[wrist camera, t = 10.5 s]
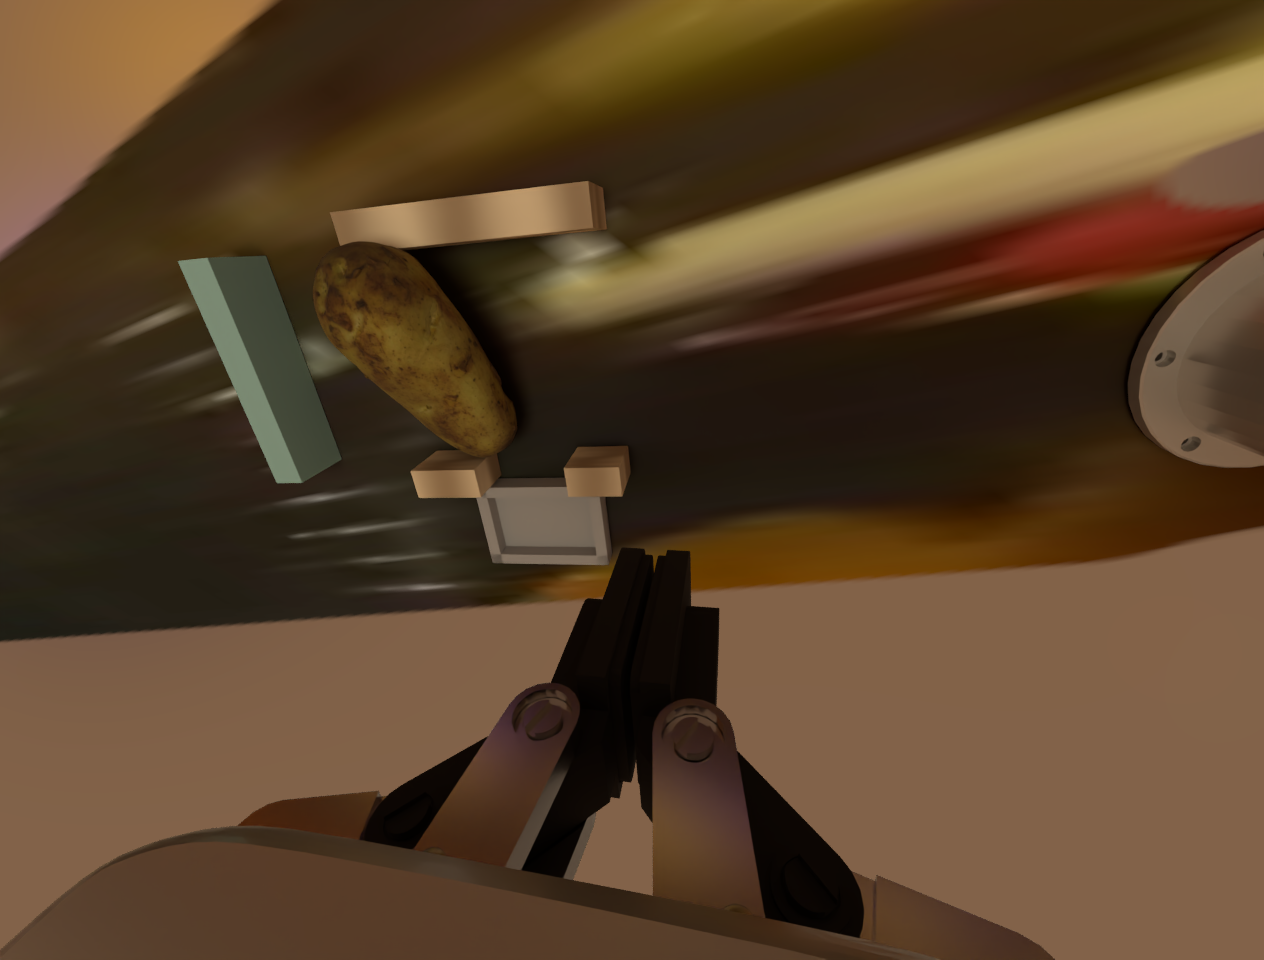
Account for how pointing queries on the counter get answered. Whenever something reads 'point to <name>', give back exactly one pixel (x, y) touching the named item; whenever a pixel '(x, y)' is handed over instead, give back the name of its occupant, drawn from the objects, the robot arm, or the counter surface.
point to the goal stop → (264, 363)
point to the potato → (413, 344)
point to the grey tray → (544, 523)
